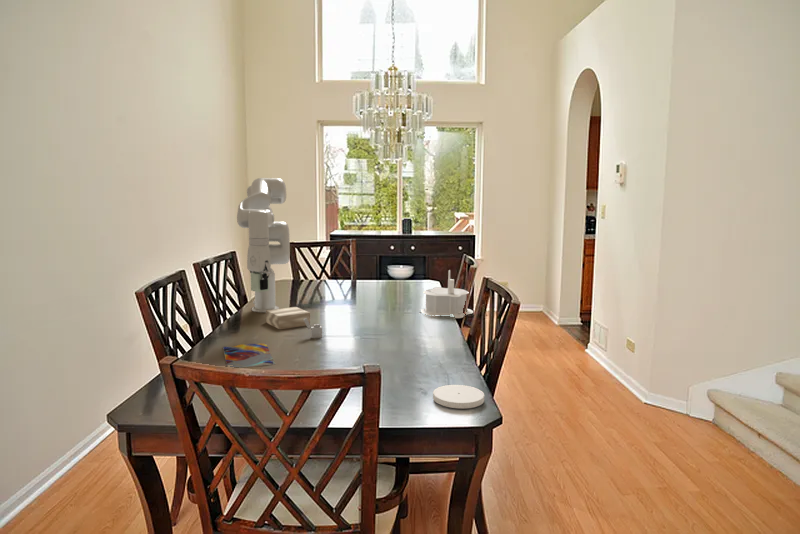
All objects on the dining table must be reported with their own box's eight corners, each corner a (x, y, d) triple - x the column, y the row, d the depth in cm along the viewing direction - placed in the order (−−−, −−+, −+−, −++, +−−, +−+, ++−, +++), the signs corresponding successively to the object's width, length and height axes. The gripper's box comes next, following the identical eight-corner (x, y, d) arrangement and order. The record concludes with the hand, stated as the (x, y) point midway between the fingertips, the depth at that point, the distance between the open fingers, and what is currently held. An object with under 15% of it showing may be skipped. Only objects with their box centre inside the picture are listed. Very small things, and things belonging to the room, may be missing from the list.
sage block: (250, 290, 218) (250, 272, 217) (262, 288, 221) (261, 271, 220) (257, 292, 214) (257, 274, 213) (269, 290, 218) (268, 273, 217)
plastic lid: (439, 390, 162) (439, 382, 162) (487, 396, 158) (487, 387, 158) (427, 408, 149) (427, 399, 148) (479, 415, 145) (480, 405, 144)
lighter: (321, 336, 219) (321, 317, 218) (322, 337, 217) (322, 317, 216) (303, 337, 217) (303, 317, 216) (303, 338, 216) (303, 318, 215)
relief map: (275, 366, 184) (275, 360, 183) (227, 371, 178) (227, 365, 178) (265, 346, 207) (265, 341, 207) (223, 349, 202) (222, 344, 202)
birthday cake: (406, 308, 275) (406, 265, 272) (457, 305, 285) (458, 263, 282) (431, 322, 247) (432, 274, 244) (487, 317, 258) (489, 271, 255)
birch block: (266, 323, 241) (266, 310, 240) (295, 319, 249) (295, 306, 248) (279, 330, 229) (279, 316, 229) (310, 326, 237) (310, 312, 237)
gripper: (238, 241, 218) (240, 286, 221) (262, 244, 207) (263, 292, 209) (255, 240, 224) (256, 284, 226) (279, 243, 212) (280, 290, 215)
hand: (260, 288), depth 218 cm, fingers closed on sage block, 5 cm apart
